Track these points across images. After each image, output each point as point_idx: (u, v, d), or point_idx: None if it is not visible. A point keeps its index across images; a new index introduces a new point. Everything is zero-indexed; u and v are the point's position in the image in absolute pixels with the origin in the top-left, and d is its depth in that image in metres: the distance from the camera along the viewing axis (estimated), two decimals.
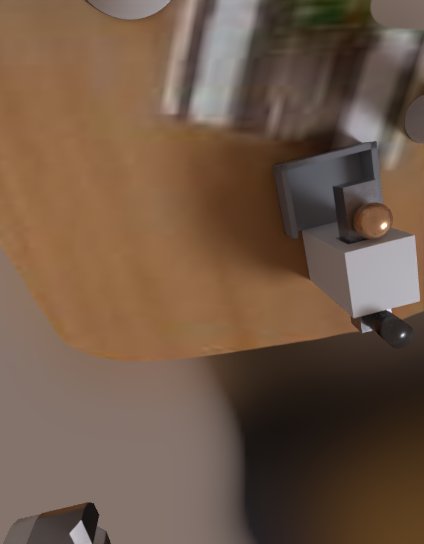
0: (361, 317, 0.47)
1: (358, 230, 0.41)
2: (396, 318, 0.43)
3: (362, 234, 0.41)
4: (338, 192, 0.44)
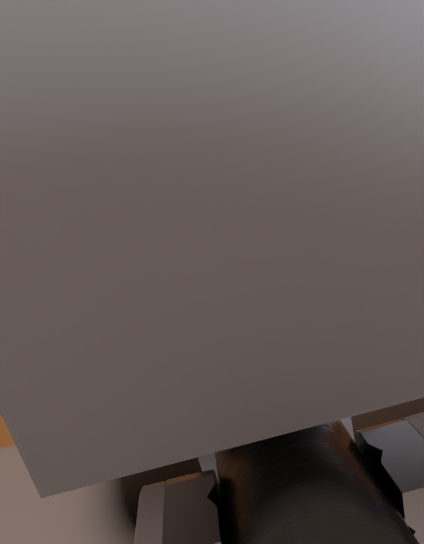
0: None
1: None
2: (356, 514, 0.05)
3: None
4: None
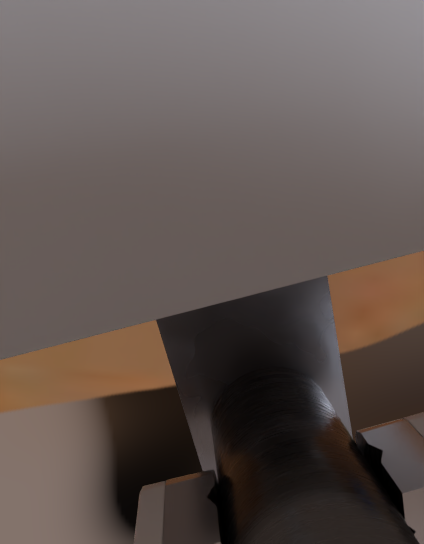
0: (196, 424, 0.09)
1: None
2: (352, 507, 0.05)
3: None
4: None
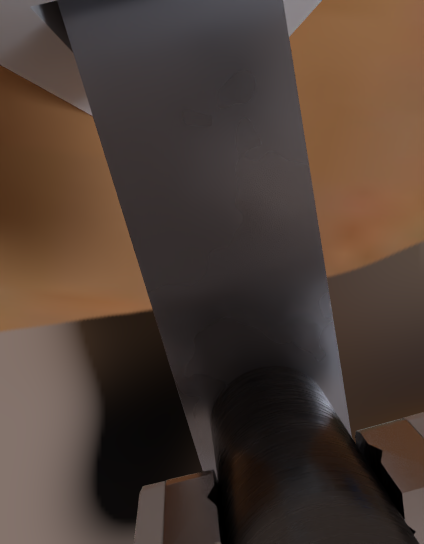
0: (195, 423, 0.09)
1: None
2: (351, 505, 0.05)
3: None
4: None
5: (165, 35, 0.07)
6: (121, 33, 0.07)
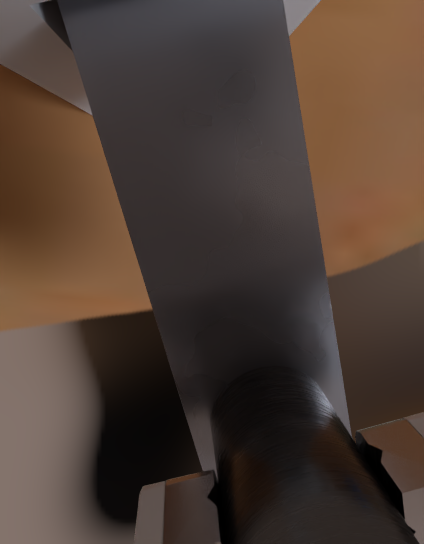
0: (196, 423, 0.09)
1: None
2: (351, 505, 0.05)
3: None
4: None
5: (165, 35, 0.07)
6: (121, 33, 0.07)
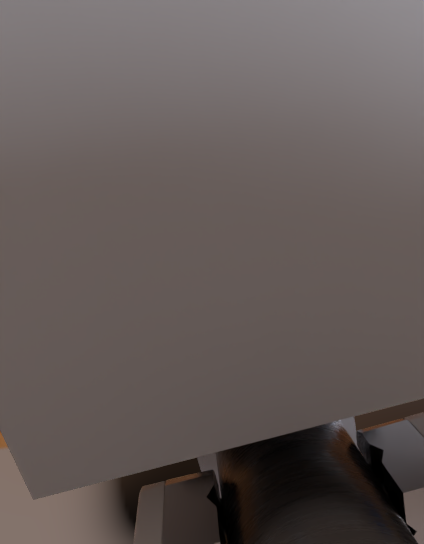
0: None
1: None
2: (364, 530, 0.05)
3: None
4: None
5: None
6: None
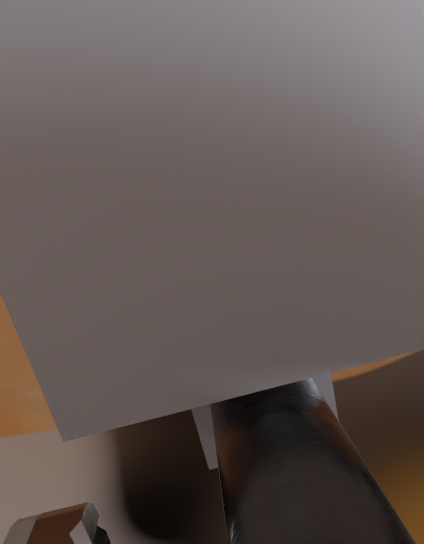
0: None
1: None
2: (327, 462, 0.06)
3: None
4: None
5: None
6: None
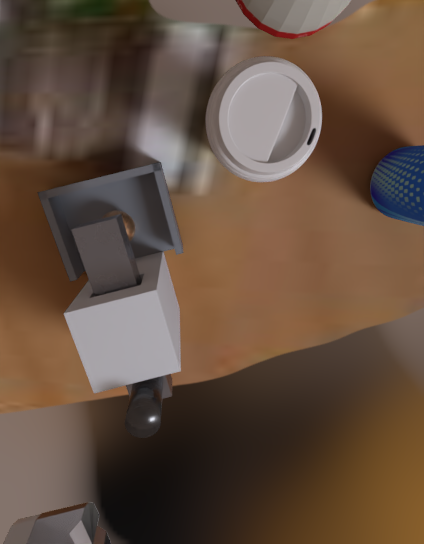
0: (128, 387, 0.37)
1: None
2: (145, 396, 0.33)
3: None
4: None
5: None
6: None
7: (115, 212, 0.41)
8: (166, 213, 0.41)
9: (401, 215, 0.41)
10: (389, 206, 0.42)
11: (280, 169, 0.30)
